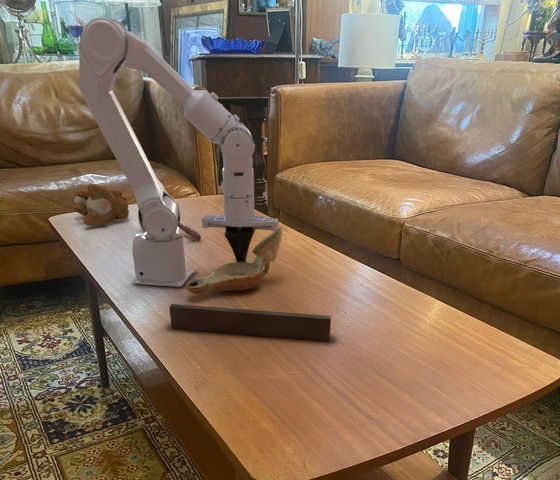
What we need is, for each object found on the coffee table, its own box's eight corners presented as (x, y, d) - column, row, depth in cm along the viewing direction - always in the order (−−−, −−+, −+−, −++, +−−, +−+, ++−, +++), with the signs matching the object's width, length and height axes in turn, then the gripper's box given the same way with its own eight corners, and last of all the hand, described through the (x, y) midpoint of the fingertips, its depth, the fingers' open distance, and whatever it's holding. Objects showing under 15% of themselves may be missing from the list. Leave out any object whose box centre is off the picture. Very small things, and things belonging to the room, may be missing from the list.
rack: (171, 328, 90) (168, 306, 88) (173, 325, 91) (171, 303, 89) (329, 341, 86) (330, 319, 84) (330, 338, 88) (331, 315, 85)
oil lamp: (293, 282, 108) (294, 232, 102) (198, 309, 97) (193, 254, 92) (268, 269, 114) (268, 221, 108) (175, 293, 103) (170, 241, 98)
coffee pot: (136, 225, 138) (167, 225, 143) (168, 254, 126) (200, 252, 131) (138, 196, 134) (170, 196, 139) (171, 223, 122) (204, 222, 127)
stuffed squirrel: (82, 224, 135) (65, 222, 145) (136, 228, 144) (116, 226, 154) (81, 182, 132) (64, 182, 142) (136, 188, 141) (116, 188, 151)
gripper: (280, 191, 104) (280, 259, 111) (207, 188, 106) (212, 255, 114) (274, 200, 98) (274, 271, 106) (196, 197, 101) (202, 267, 108)
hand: (241, 264), depth 109 cm, fingers closed
